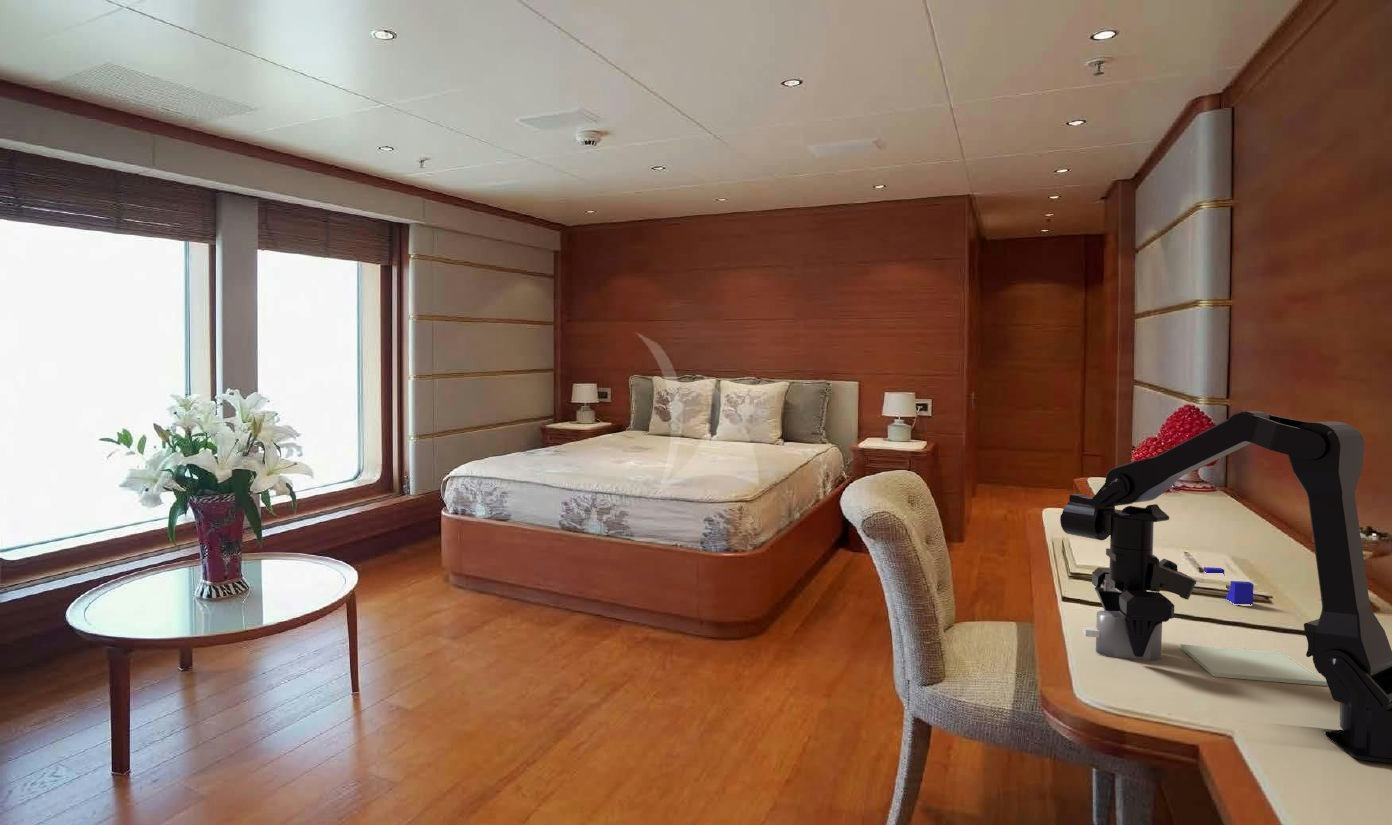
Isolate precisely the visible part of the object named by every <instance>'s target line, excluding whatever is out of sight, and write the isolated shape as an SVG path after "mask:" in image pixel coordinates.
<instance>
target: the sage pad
mask: <svg viewBox="0 0 1392 825" xmlns="http://www.w3.org/2000/svg"><path fill="white" fill-rule="evenodd" d="M1179 646H1180V647H1179V648H1180V649H1181V650H1182V651H1183V652H1184V653H1185V654H1187V655H1188V656H1189V657H1190V658H1191V659H1192V660H1194V661H1195V662H1196V663H1197V664H1198V665H1200V666H1201V667H1202V668H1203V669H1204V670H1205V671H1206V672H1208V673H1209V674H1210V675H1211V676H1213V677H1217V678H1229V679H1237V680H1238V679H1242V680H1251V681H1264V682H1273V683H1274V682H1275V683H1287V684H1288V683H1289V684H1300V685H1302V684H1303V685H1312V686H1322V687H1328V684H1327V681H1326V679H1325V678H1322V677H1321V676H1319V675H1318V674H1316V673H1315V672H1313V671H1311V670H1310V669H1309V668H1307V667H1305V666H1304V665H1302V664H1301V663H1299V662H1298V661H1297V660H1295V659H1293V658H1292V657H1291V656H1288V655H1287V654H1285V653H1284V652H1283V651H1276V650H1275V651H1274V650H1264V649H1263V650H1262V649H1247V648H1238V647H1237V648H1236V647H1224V646H1211V645H1197V644H1187V643H1186V644H1185V643H1184V644H1183V643H1180V644H1179Z"/></svg>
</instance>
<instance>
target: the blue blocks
mask: <svg viewBox="0 0 1392 825" xmlns="http://www.w3.org/2000/svg"><path fill="white" fill-rule="evenodd" d="M1203 570H1204V571H1205V572H1206V573H1223V574H1224V575H1225V569H1223V568H1222V567H1209V566H1208V567H1206V566H1204V567H1203ZM1228 590H1229V591H1228V593H1227V595H1226V596H1225V597H1226V599H1227V600H1229V601H1231V602H1232V603H1234V604H1250V605H1251V604H1253V605H1254V583H1252V582H1250V581H1241V580H1239V581H1237V580H1230V587H1229V589H1228ZM1226 599H1225V600H1226ZM1227 600H1226V601H1227Z"/></svg>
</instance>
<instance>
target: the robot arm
mask: <svg viewBox="0 0 1392 825" xmlns="http://www.w3.org/2000/svg"><path fill="white" fill-rule="evenodd" d="M1250 444H1254V445H1257V446H1259V447H1262V448H1264V449H1266V450H1270V451H1273V452H1276V453H1280V454H1285V455H1287V457H1288V460H1289V463H1290V466H1291V470H1292V472H1293V474H1294V475H1295V478H1296V479H1297V480H1298V482H1299V484H1300V485H1301V487H1302V488H1303V489H1304V492H1305V493H1306V496H1307V499H1308V510H1309V516H1310V524H1311V530H1312V538H1313V545H1314V553H1315V561H1316V562H1315V563H1316V569H1317V577H1318V584H1319V592H1320V600H1321V612H1320V615H1319V618H1317V619H1314V620H1311V621H1307V622H1304V624H1303V631H1304V634H1305V638H1306V641H1307V651H1306V654H1305V657H1307V658H1311V657H1312V662H1313V666H1314V668H1315V669H1316V671H1317V673H1318V674H1320V675H1321V676H1323V678H1324V680H1325V681H1327V687H1328V690H1329V692H1330V695H1331V697H1332V700H1333V701H1335V702H1338V703H1340V705H1339V727H1340V728H1341V729H1339V732H1338V731H1324V732H1325V733H1324V736H1325V737H1327V738H1328V739H1329V740H1330V741H1332V743H1334V744H1335V745H1337V746H1338V747H1340V749H1341V750H1343V751H1344V752H1346V753H1347V754H1348V755H1349V756H1350V757H1352V758H1354V759H1356V760H1362V761H1369V762H1371V761H1372V762H1380V763H1391V764H1392V648H1391V644H1390V642H1389V639H1388V636H1387V634H1386V631H1385V629H1384V627H1383V626H1382V624H1381V623H1380V621H1379V620H1378V618H1377V616H1376V615H1375V614H1374V611H1373V610H1372V607H1371V604H1370V602H1371V601H1370V595H1369V589H1368V587H1369V586H1368V580H1367V575H1366V568H1365V567H1366V565H1365V559H1364V558H1365V557H1364V551H1363V544H1362V538H1361V531H1360V523H1359V516H1358V508H1357V499H1356V489H1357V486H1358V483H1359V481H1360V478H1361V474H1362V472H1363V468H1364V467H1363V464H1364V455H1365V454H1364V453H1365V440H1364V437H1363V435H1362V433H1361V431H1360V430H1358V429H1356V428H1355V427H1353V426H1352V425H1350V424H1348V423H1345V422H1342V421H1315V422H1314V421H1313V422H1312V421H1311V422H1309V421H1305V420H1300V419H1299V420H1298V419H1293V418H1288V417H1282V416H1277V415H1273V414H1269V413H1266V412H1263V411H1261V410H1248V411H1247V410H1246V411H1245V410H1244V411H1238V412H1234V413H1233V414H1232V415H1231V416H1230V417H1229V418H1228V419H1225V420H1224V421H1221V422H1220V423H1217V424H1216V425H1214V426H1212V427H1210V428H1208V429H1206V430H1204V431H1202V432H1201V433H1199V434H1196V435H1195V436H1194V435H1193V437H1190V438H1189V439H1187V440H1185V441H1183V442H1181V443H1179V444H1177V445H1175V446H1173V447H1171V448H1169V449H1167V450H1165V451H1163V452H1162V453H1160V454H1157V455H1155V456H1154V455H1153V456H1151V457H1147V458H1142V459H1138V460H1136V461H1135V460H1134V461H1131V462H1128V463H1125V464H1121V465H1118V466H1115V467H1112V468H1111V469H1110V470H1109V471H1107V473H1105V474H1106V475H1105V483H1103V485H1102V486H1101V487H1100V488H1099V489H1098V491H1097V492H1096V493H1095V495H1094V496H1088V495H1086V494H1080V493H1073V494H1069V499H1068V500H1069V501H1068V502H1067V503H1066V504H1065V505H1064V507H1063V509H1062V513H1061V514H1060V520H1059V521H1060V527H1061V529H1062V531H1063V532H1064V533H1065V534H1066V535H1072V536H1077V537H1080V538H1081V537H1083V538H1087V539H1091V540H1098V541H1105V540H1106V539H1108V537H1109V536H1110V538H1109V539H1110V541H1109V548H1108V547H1107V548H1105V556H1107V557H1108V558H1109V567H1100V566H1099V567H1097V568H1096V569H1095V570H1093V571H1092V572H1091V584H1092V585H1093V586H1094V590H1095V593H1096V594H1097V597H1098V599H1099V600H1100V604H1101V605H1102V608H1103V611H1118V612H1119V613H1120V616H1121V619H1122V622H1123V624H1124V627H1125V630H1126V633H1127V636H1128V639H1129V642H1130V645H1131V648H1132V651H1133V654H1134V655H1135V656H1136V657H1143V655H1144V653H1145V650H1146V647H1147V645H1148V642H1149V640H1150V637H1151V635H1152V633H1153V630H1154V628H1155V627H1156V626H1157V625H1158V624H1160V623H1162V624H1163V623H1165V622H1168V621H1170V619H1172V620H1173V619H1174V618H1175V604H1174V603H1173V602H1172V601H1171V600H1170V599H1169V598H1167V597H1166V596H1165V595H1164V594H1162V593H1161V592H1160V591H1161V590H1160V589H1162V590H1164V591H1166V592H1170V593H1172V594H1175V595H1177V596H1179V597H1180V598H1182V599H1184V600H1187V601H1188V600H1190V597H1191V595H1192V593H1193V591H1194V588H1195V586H1196V585H1197V584H1196V582H1198V581H1197V580H1196V579H1194V578H1193V577H1191V576H1189V575H1187V574H1186V573H1184V572H1181V571H1179V570H1178V564H1177V563H1175V562H1174V561H1171V560H1169V559H1166V558H1162V559H1161V560H1160V559H1159V558H1158V556H1156V555H1154V553H1153V552H1154V551H1153V549H1154V525H1155V524H1154V523H1159V522H1165V521H1166V522H1167V521H1169V520H1170V516H1169V515H1168V514H1167V513H1166V512H1164V511H1163V510H1162V509H1161V508H1160V506H1159V505H1158V504H1157V503H1155V504H1147V506H1145V507H1140V506H1134V505H1132V504H1135V503H1143V502H1150V501H1153V500H1156V499H1157V498H1158V497H1160V496H1161V495H1162V494H1165V493H1166V492H1167V491H1168V490H1169V489H1171V488H1172V487H1173V486H1174V484H1175V483H1176V482H1178V480H1179V479H1181V478H1183V477H1184V476H1186V475H1188V474H1189V473H1191V472H1193V471H1196V470H1199V469H1200V468H1202V467H1204V466H1206V465H1209V464H1211V463H1212V462H1213V463H1214V462H1215V461H1216V460H1219V459H1221V458H1223V457H1226V456H1228V455H1229V454H1231V453H1234V452H1236V451H1238V450H1240V449H1242V448H1244V447H1246V446H1249V445H1250ZM1118 506H1119V507H1120V506H1126V507H1124V508H1123V509H1117V508H1116V507H1118Z"/></svg>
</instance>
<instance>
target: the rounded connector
mask: <svg viewBox="0 0 1392 825" xmlns="http://www.w3.org/2000/svg"><path fill="white" fill-rule="evenodd" d="M1162 634H1163V622H1162V623H1160V624H1158V625H1157V626H1156V627H1155V628H1154V630H1153V633H1152V635H1151V637H1150V640H1149V642H1148V645H1147V647H1146V650H1145V653H1144V655H1143V657H1136V656H1135V655H1134V654H1133V651H1132V648H1131V645H1130V642H1129V639H1128V636H1127V633H1126V630H1125V627H1124V624H1123V622H1122V619H1121V616H1120V613H1119V612H1118V611H1104V610H1098V611H1096V627H1090V626H1082V635H1084V637H1086V638H1087V637H1090V638H1091V637H1092V638H1095V652H1096V653H1098V654H1099V655H1102V656H1106V657H1112V658H1121V659H1132V660H1133V659H1135V660H1145V661H1158V660H1159V661H1160V660H1161V659H1162V641H1163V640H1162V638H1163V635H1162Z"/></svg>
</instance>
